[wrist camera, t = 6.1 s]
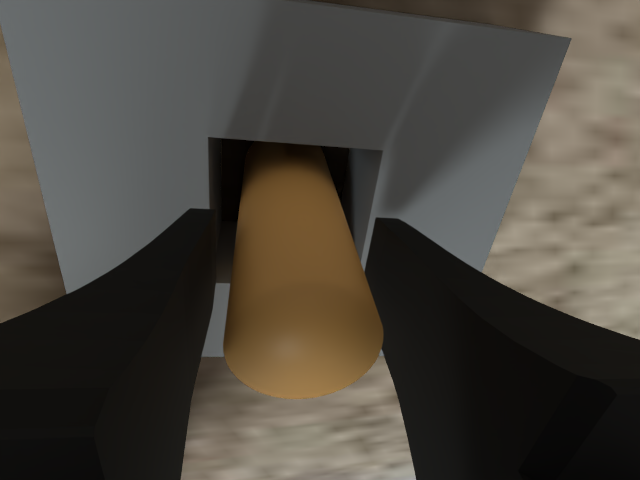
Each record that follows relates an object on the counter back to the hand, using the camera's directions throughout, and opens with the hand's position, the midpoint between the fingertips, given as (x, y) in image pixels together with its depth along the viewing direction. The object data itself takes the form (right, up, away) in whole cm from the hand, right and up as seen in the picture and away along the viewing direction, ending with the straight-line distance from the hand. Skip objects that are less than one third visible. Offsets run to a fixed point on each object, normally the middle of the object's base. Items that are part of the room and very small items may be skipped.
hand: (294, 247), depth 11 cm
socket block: (-1, +3, +5) cm, 5 cm away
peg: (-1, +3, +5) cm, 5 cm away
